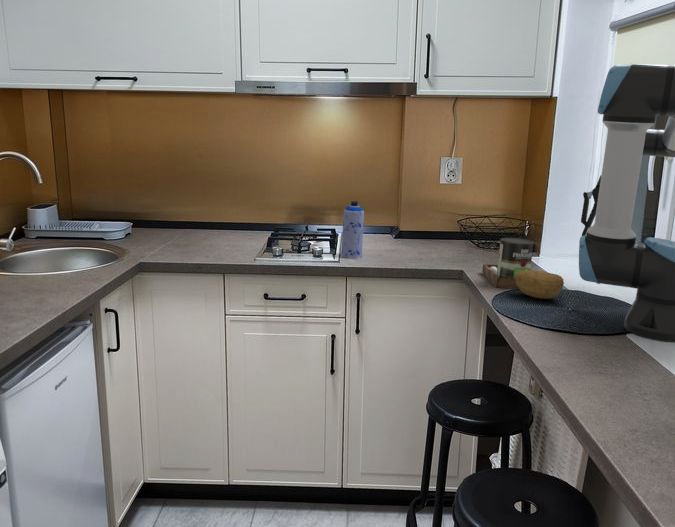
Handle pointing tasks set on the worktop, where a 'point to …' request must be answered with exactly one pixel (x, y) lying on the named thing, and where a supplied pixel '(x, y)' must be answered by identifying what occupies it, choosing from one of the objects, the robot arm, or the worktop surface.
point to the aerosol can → (352, 231)
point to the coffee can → (514, 257)
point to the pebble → (494, 269)
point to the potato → (539, 284)
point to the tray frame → (496, 280)
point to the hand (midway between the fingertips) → (583, 247)
